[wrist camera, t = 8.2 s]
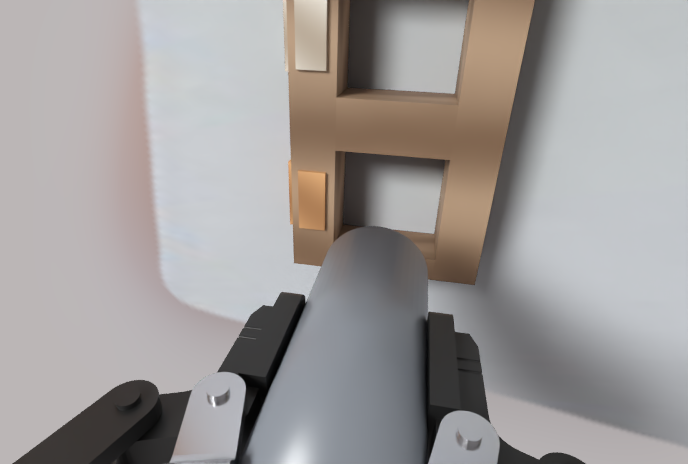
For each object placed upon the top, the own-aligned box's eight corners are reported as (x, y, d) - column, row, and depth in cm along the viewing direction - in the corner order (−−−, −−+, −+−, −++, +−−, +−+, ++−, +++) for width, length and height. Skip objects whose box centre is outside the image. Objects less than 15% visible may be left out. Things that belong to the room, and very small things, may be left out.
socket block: (297, -71, 19) (274, -85, 16) (534, -69, 18) (553, -85, 15) (302, 237, 27) (288, 264, 24) (469, 256, 25) (474, 287, 22)
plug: (324, 220, 16) (191, 485, 7) (434, 232, 15) (443, 537, 6) (323, 307, 17) (218, 603, 9) (421, 321, 17) (414, 651, 8)
